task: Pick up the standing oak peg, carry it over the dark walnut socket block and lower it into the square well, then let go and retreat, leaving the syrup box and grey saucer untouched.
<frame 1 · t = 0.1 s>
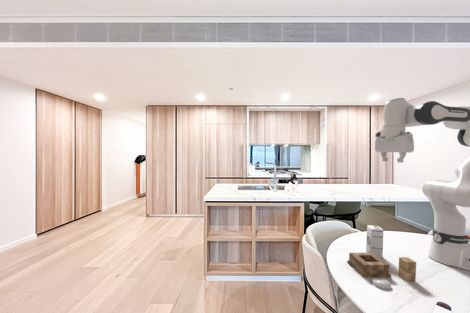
hand: (392, 161, 106), 48 cm above the table, fingers open, 8 cm apart
oak peg: (406, 278, 92), on the table
grey saucer: (381, 285, 87), on the table
syrup box: (374, 255, 112), on the table
socket block: (367, 269, 99), on the table
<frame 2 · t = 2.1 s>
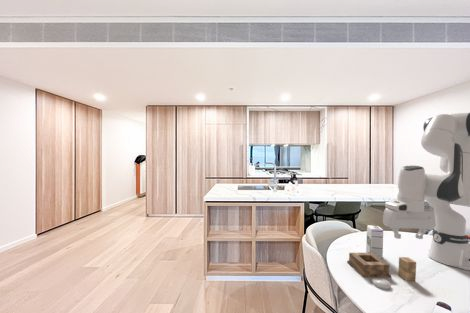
hand: (408, 238, 92), 17 cm above the table, fingers open, 8 cm apart
nothing on the table moved.
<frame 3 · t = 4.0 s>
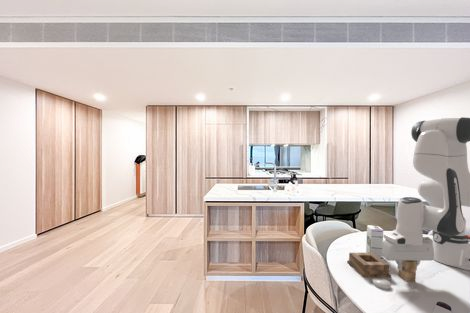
hand: (407, 269, 92), 4 cm above the table, fingers closed on oak peg, 4 cm apart
oak peg: (406, 278, 92), on the table, touching gripper
everything else where it was.
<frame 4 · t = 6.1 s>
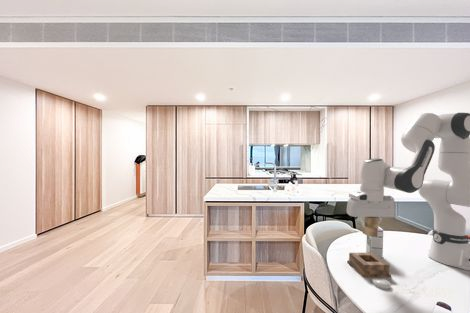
hand: (370, 226, 98), 19 cm above the table, fingers closed on oak peg, 4 cm apart
oak peg: (369, 234, 98), point 16 cm above the table, touching gripper
everything else where it was.
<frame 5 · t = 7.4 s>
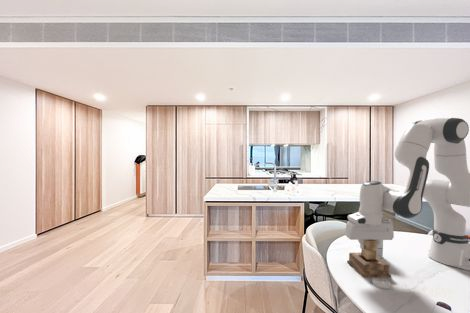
hand: (368, 248, 98), 9 cm above the table, fingers closed on oak peg, 4 cm apart
oak peg: (368, 256, 98), point 6 cm above the table, touching gripper
everything else where it was.
when the fingers open (7 cm above the table, at t = 8.2 s): oak peg drops 2 cm, resting on socket block.
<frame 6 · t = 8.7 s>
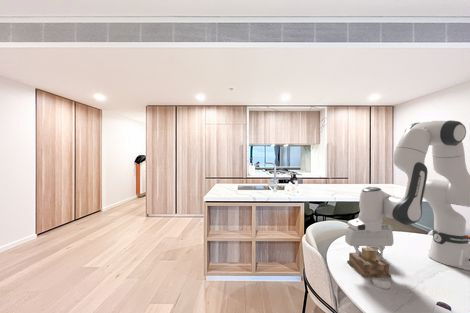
hand: (368, 254, 98), 7 cm above the table, fingers open, 8 cm apart
oak peg: (368, 267, 98), point 1 cm above the table, touching socket block
everything else where it was.
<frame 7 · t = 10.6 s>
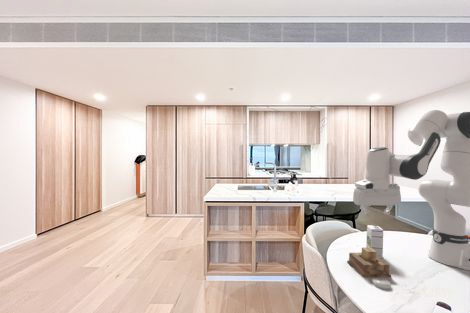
hand: (376, 214, 99), 24 cm above the table, fingers open, 8 cm apart
nothing on the table moved.
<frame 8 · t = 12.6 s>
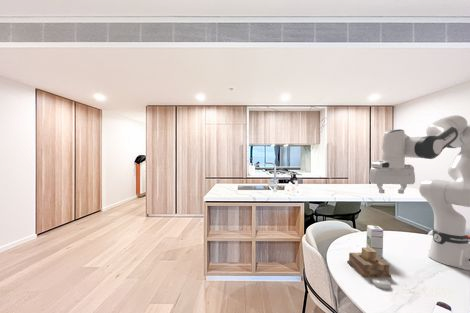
hand: (391, 193, 104), 33 cm above the table, fingers open, 8 cm apart
nothing on the table moved.
at the end: oak peg 0.1 cm off-centre on the socket block, point 1.0 cm above the socket block's base; oak peg tilted 0°; the gripper is holding nothing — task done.
